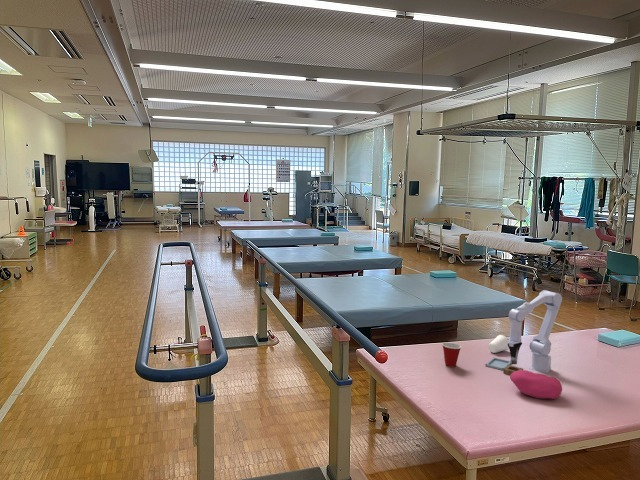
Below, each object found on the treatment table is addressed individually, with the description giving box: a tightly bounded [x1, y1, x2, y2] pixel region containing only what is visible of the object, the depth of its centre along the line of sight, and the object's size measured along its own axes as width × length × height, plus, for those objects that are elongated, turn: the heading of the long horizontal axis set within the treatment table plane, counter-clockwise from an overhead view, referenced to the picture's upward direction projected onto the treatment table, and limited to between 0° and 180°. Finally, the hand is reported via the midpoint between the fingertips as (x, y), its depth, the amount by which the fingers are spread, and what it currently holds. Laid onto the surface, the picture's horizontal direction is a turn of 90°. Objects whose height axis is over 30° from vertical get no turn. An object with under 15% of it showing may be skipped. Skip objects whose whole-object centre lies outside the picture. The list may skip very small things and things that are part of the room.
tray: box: [485, 357, 512, 371], centre depth 263 cm, size 10×14×2 cm
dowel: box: [509, 350, 519, 365], centre depth 251 cm, size 3×3×8 cm
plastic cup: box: [441, 342, 462, 368], centre depth 263 cm, size 11×11×12 cm
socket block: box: [502, 364, 524, 376], centre depth 252 cm, size 8×8×3 cm
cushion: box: [509, 369, 563, 400], centre depth 227 cm, size 23×19×10 cm
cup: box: [487, 334, 509, 354], centre depth 286 cm, size 10×10×11 cm
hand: (514, 356), depth 251 cm, fingers closed on dowel, 3 cm apart
